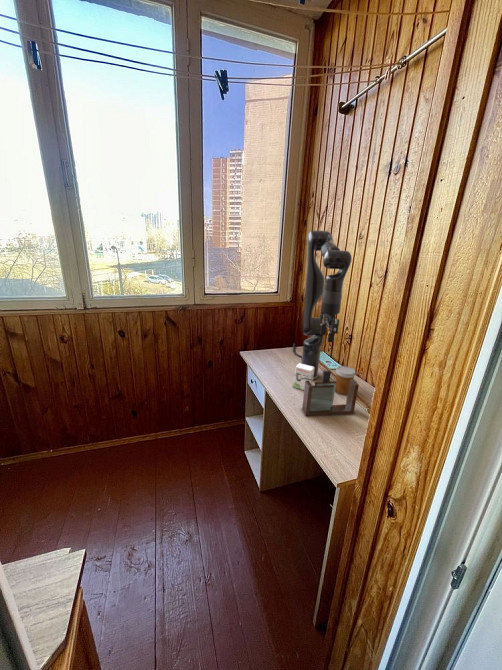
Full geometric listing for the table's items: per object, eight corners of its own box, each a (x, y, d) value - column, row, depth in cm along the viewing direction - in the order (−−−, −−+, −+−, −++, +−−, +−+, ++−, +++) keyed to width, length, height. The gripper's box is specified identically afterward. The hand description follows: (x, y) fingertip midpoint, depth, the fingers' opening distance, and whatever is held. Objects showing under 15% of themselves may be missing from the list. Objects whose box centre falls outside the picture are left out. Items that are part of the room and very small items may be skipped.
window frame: (302, 409, 131) (305, 380, 126) (348, 407, 134) (353, 378, 129) (305, 416, 126) (309, 386, 121) (353, 413, 129) (358, 384, 124)
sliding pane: (311, 406, 130) (315, 370, 124) (331, 405, 131) (336, 370, 125) (312, 408, 129) (316, 372, 123) (332, 407, 130) (338, 371, 124)
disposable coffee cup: (355, 391, 147) (359, 370, 143) (345, 398, 140) (349, 376, 136) (339, 384, 153) (342, 363, 149) (328, 390, 147) (331, 369, 143)
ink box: (293, 387, 149) (295, 366, 145) (296, 383, 153) (298, 362, 149) (309, 392, 145) (311, 370, 141) (312, 387, 149) (314, 366, 145)
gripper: (347, 305, 113) (341, 344, 119) (333, 297, 127) (328, 332, 132) (329, 305, 112) (324, 344, 118) (316, 297, 126) (312, 332, 131)
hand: (326, 338), depth 125 cm, fingers open, 8 cm apart
